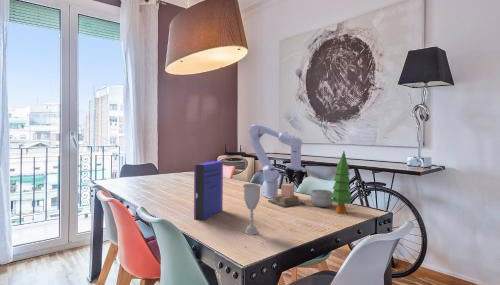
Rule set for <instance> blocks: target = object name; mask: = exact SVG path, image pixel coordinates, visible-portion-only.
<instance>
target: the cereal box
mask: <svg viewBox="0 0 500 285" xmlns="http://www.w3.org/2000/svg"><path fill="white" fill-rule="evenodd" d="M193 167H194V168H193V171H194V172H193V174H194V175H193V176H194V177H193V183H194V184H193V188H194V189H193V193H194V194H193V219H194V220H198V221H205V220H207V219H209V218H211V217H213V216H215V215H217V214H219V213H221V212H222V211H223V207H224V206H223V201H224V200H223V194H224V192H223V187H224V186H223V185H224V179H223V178H224V177H223V176H224V161H222V160H214V161H206V162H201V163H195V164H194V166H193Z"/></svg>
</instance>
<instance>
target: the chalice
mask: <svg viewBox="0 0 500 285" xmlns="http://www.w3.org/2000/svg"><path fill="white" fill-rule="evenodd" d="M242 186H243V188H244V189H243V199H244V202H245V205H246V207H247V209H248V210H250V214H249V216H250V218H249V221H250V222H249V223H250V224H249V225H248V226H247V227H246V229H245V232H244V233H245V234H247V235H257V234H258V233H259V231H258V228H257V226H255V224H254V220H255V219H254V215H255V214H254V210H256V208H257V206H258V205H259V202H260V198H261V187H262V185H261V184H259V183H246V184H243V185H242Z"/></svg>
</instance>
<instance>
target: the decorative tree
mask: <svg viewBox="0 0 500 285" xmlns="http://www.w3.org/2000/svg"><path fill="white" fill-rule="evenodd" d="M346 156H347V155H346V152H345V151H343V152H342V154H341V157H340V159H339V162H338V163H337V165H336V170H335V173H334V175H335V177H334V180H333V181H334V185H333V187H332V190H333V191H332V196H331V198H332V202H333V203H335V204H337V207H336V208H335V210H334V213H336V214H339V215H341V214H342V215H346V214H348V212H347V208H346V205H349V204H350V203H351V204H352V201H351V198H352V194H351V192H350V191H349V190H352V189H351V186H350V182H351V180H350V175H351V174H350V172H349V169H350V167H349V165H348V162H347V157H346Z"/></svg>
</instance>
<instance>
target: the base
mask: <svg viewBox="0 0 500 285" xmlns="http://www.w3.org/2000/svg"><path fill="white" fill-rule="evenodd" d="M267 201H268V203H270V204H272V205H275V206H279V207H281V208H291V207H297V206H304V205H306V202H305V201H302V200H299V196H297V195H295V194H294V196H291V197H287V196H281V193H280V194H279V193H278V195H275V198H271V199H268V200H267Z"/></svg>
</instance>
